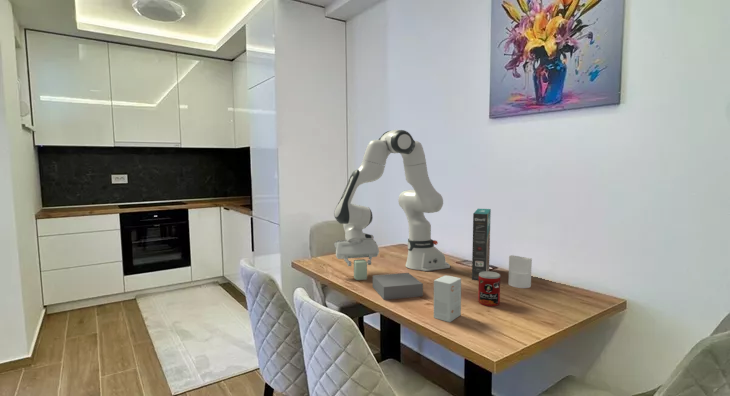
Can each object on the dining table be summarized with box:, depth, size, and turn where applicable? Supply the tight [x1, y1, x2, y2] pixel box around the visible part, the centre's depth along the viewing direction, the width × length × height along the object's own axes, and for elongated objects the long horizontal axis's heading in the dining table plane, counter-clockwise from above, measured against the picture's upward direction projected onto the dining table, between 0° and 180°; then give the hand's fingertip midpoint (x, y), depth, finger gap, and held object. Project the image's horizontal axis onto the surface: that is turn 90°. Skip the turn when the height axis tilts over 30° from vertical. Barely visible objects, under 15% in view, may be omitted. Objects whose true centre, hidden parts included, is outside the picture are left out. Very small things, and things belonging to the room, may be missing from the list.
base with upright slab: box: [507, 254, 533, 289], centre depth 163 cm, size 9×9×12 cm
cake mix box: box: [471, 208, 492, 281], centre depth 178 cm, size 22×6×30 cm, turn 158°
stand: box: [372, 272, 424, 301], centre depth 154 cm, size 16×16×5 cm
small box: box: [433, 274, 462, 323], centre depth 128 cm, size 8×6×13 cm
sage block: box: [353, 259, 368, 281], centre depth 173 cm, size 5×5×8 cm
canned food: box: [477, 270, 501, 307], centre depth 141 cm, size 8×8×11 cm
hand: (359, 264), depth 173 cm, fingers open, 8 cm apart
